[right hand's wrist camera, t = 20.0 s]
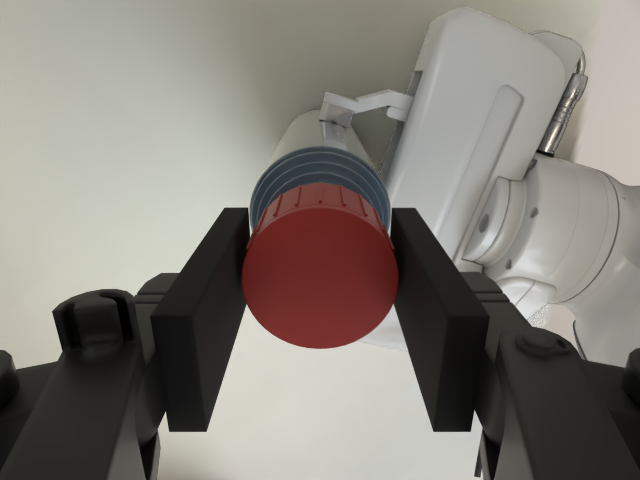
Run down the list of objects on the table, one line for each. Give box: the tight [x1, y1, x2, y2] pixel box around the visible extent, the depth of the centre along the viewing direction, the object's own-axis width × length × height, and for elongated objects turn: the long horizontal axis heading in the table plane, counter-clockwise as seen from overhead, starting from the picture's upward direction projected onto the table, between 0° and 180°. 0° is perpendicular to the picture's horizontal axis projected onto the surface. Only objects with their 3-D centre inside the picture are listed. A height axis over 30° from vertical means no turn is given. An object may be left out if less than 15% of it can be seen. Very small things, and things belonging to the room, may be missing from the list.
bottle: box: [250, 109, 391, 232], centre depth 22 cm, size 6×6×21 cm
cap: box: [241, 182, 399, 349], centre depth 13 cm, size 4×4×3 cm
